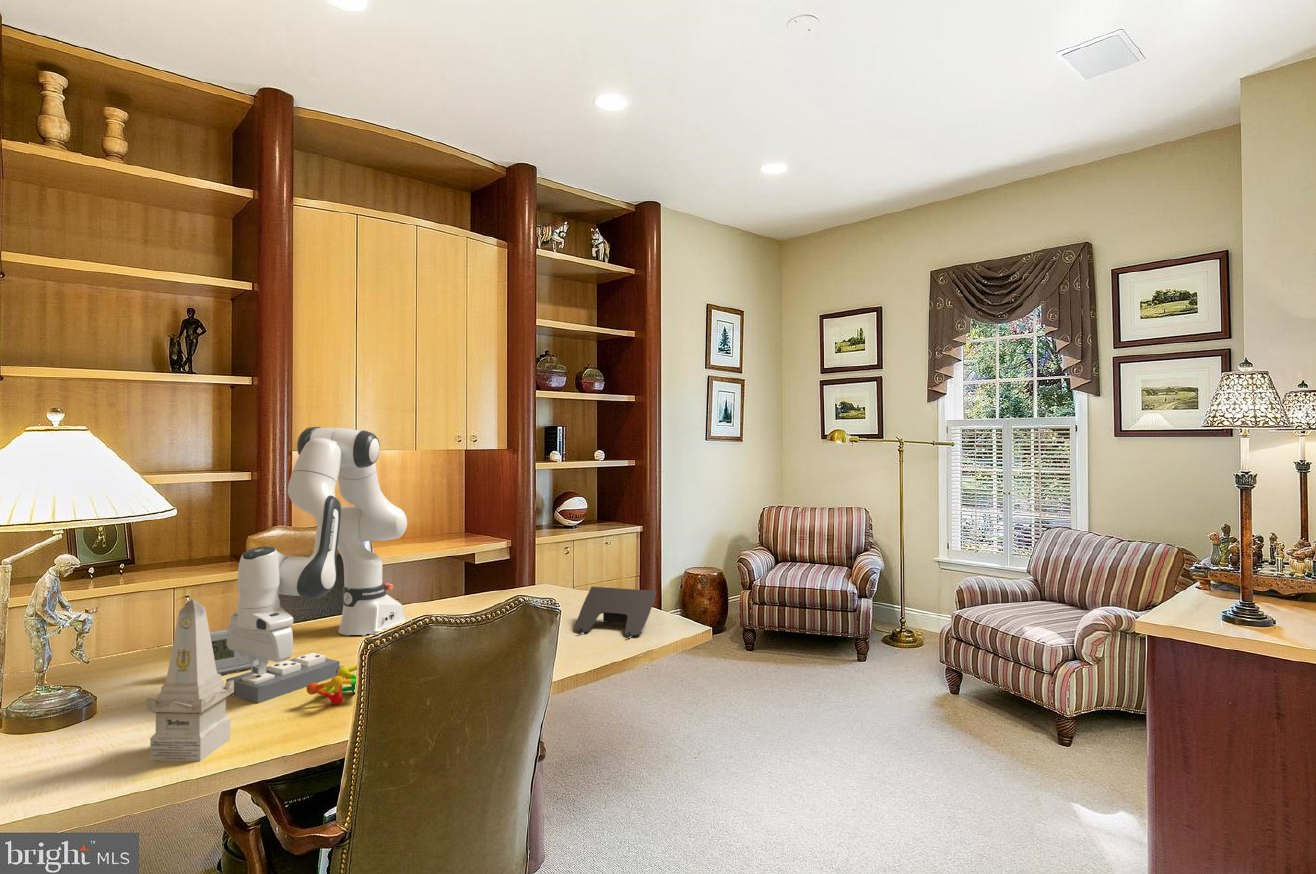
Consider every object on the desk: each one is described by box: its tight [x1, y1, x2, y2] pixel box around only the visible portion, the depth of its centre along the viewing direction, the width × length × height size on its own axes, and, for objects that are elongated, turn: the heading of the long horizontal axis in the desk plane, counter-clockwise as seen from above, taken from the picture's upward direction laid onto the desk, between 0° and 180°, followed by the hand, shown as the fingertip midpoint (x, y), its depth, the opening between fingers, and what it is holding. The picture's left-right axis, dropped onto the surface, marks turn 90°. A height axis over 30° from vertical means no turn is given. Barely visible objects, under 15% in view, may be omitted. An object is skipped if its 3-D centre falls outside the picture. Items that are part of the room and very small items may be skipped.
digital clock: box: [210, 628, 251, 676], centre depth 185 cm, size 16×9×11 cm, turn 122°
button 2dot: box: [295, 652, 326, 667], centre depth 184 cm, size 5×5×3 cm
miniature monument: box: [145, 598, 234, 762], centre depth 141 cm, size 10×10×30 cm
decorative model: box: [306, 664, 358, 706], centre depth 169 cm, size 13×9×15 cm
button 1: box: [242, 673, 275, 684], centre depth 172 cm, size 5×5×3 cm
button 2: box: [268, 659, 301, 675], centre depth 178 cm, size 5×5×3 cm
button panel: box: [225, 657, 341, 704], centre depth 178 cm, size 22×12×4 cm, turn 153°
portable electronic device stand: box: [575, 586, 658, 639], centre depth 233 cm, size 23×23×9 cm
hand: (258, 673), depth 172 cm, fingers closed
